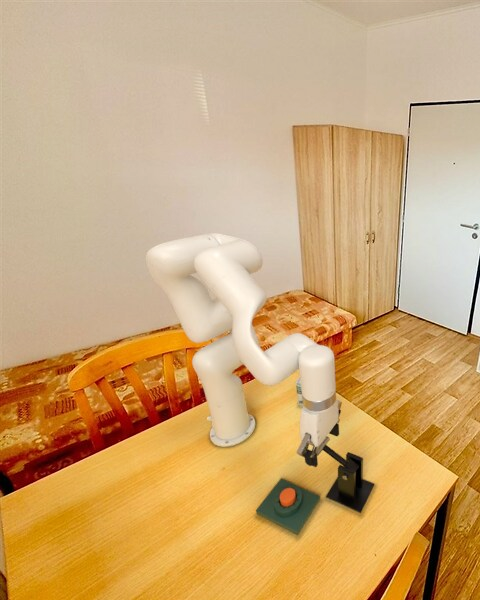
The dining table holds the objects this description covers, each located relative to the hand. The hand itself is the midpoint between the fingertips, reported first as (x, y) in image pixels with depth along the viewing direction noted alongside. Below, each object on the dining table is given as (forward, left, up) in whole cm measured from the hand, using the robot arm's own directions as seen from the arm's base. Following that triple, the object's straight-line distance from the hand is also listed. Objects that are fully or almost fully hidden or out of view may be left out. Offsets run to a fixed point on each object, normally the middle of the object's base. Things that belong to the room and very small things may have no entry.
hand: (323, 448), depth 80 cm
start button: (-4, -9, -9) cm, 14 cm away
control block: (-4, -9, -13) cm, 17 cm away
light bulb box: (-21, +25, -13) cm, 35 cm away
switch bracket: (+8, 0, -13) cm, 15 cm away
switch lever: (+4, 0, -2) cm, 4 cm away
